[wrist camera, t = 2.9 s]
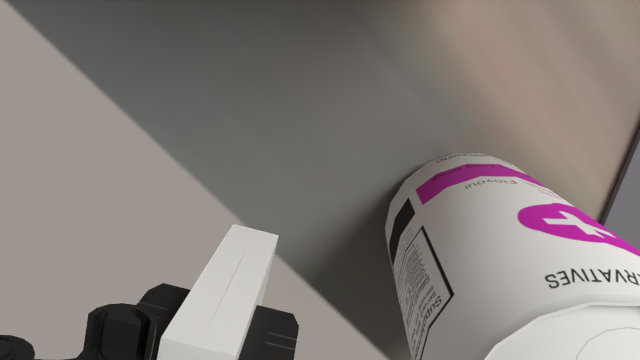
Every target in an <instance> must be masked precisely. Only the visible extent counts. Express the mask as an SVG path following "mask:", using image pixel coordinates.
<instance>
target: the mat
mask: <svg viewBox="0 0 640 360" xmlns="http://www.w3.org/2000/svg"><path fill="white" fill-rule="evenodd" d="M600 224H601V225H602V226H603V227H605V228H606V229H608V230H609V231H611V232H612V233H614V234H615V235H617V236H618V237H620V238H621V239H623V240H624V241H626V242H627V243H628V244H630V245H631V246H633V247H634V248H636V249H637V250H639V251H640V129H639V131H638V134H637V136H636V138H635V141H634V143H633V146H632V148H631V150H630V153H629V155H628V158H627V160H626V162H625V165H624V167H623V170H622V172H621V174H620V177H619V179H618V182H617V184H616V186H615V189H614V191H613V194H612V196H611V198H610V201H609V203H608V206H607V208H606V210H605V213H604V215H603V218H602V220H601V222H600Z"/></svg>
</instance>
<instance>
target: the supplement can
mask: <svg viewBox="0 0 640 360" xmlns="http://www.w3.org/2000/svg"><path fill="white" fill-rule="evenodd" d="M385 233H386V240H387V246H388V253H389V258H390V262H391V267H392V271H393V276H394V280H395V285H396V289H397V294H398V299H399V303H400V308H401V312H402V317H403V321H404V326H405V330H406V335H407V339H408V344H409V348H410V353H411V357H412V360H640V251H639V250H637V249H636V248H634V247H633V246H631V245H630V244H628V243H627V242H626V241H624V240H623V239H621V238H620V237H618V236H617V235H615V234H614V233H612V232H611V231H609V230H608V229H606V228H605V227H603V226H602V225H601V224H599V223H598V222H596V221H595V220H593V219H592V218H590V217H589V216H587V215H586V214H584V213H583V212H581V211H580V210H579V209H577V208H576V207H574V206H573V205H571V204H570V203H568V202H567V201H565V200H564V199H562V198H561V197H559V196H558V195H556V194H555V193H554V192H552V191H551V190H549V189H548V188H546V187H545V186H543V185H542V184H540V183H539V182H537V181H536V180H534V179H533V178H532V177H530V176H529V175H527V174H526V173H524V172H523V171H521V170H520V169H518V168H517V167H515V166H514V165H512V164H511V163H508V162H506V161H503V160H500V159H498V158H495V157H492V156H490V155H487V154H478V153H455V154H452V155H449V156H446V157H443V158H440V159H437V160H434V161H431V162H428V163H427V164H425V165H424V166H423V167H422V168H420V169H419V170H418V171H416V172H415V173H414V174H412V175H411V176H410V177H408V178H407V179H406V180H405V181H404V183H403V184H402V186H401V187H400V189H399V190H398V192H397V194H396V195H395V197H394V198H393V200H392V201H391V203H390V207H389V212H388V216H387V221H386V225H385Z"/></svg>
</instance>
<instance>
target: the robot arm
mask: <svg viewBox="0 0 640 360" xmlns="http://www.w3.org/2000/svg"><path fill="white" fill-rule="evenodd" d="M278 236H279V235H275V234H271V233H267V232H263V231H259V230H255V229H251V228H247V227H243V226H239V225H235V224H233V225H232V227H231V228H230V230H229V231H228V233H227V235H226V236H225V238H224V239H223V241H222V242H221V244H220V246H219V247H218V249H217V250H216V252H215V253H214V255H213V256H212V258H211V260H210V262H209V263H208V264H207V266H206V267H205V269H204V271H203V272H202V274H201V275H200V277H199V279H198V280H197V282H196V283H195V285H194V287H193V288H192V290H189V289H184V288H180V287H176V286H172V285H168V284H164V283H163V284H161V285H158V286H156V287H154V288H152V289H150V290H148V291H147V292H146V294H145V295H144V296H143V297H142V299H141V300H140V301H139V303H137V305H131V304H123V303H121V304H109V305H105V306H102V307H99V308H96V309H95V310H93V311H92V312H91V313H89V314H88V321H87V328H86V335H85V342H84V349H83V351H82V352H81V353H80V355H79V356H78V357H77V358H74V359H66V360H293V359H294V353H295V347H296V340H297V335H298V329H299V325H298V324H297V321H296V319H295V317H294V315H293V314H291V313H287V312H283V311H279V310H275V309H271V308H267V307H263V306H262V301H263V298H264V293H265V289H266V285H267V281H268V277H269V273H270V269H271V264H272V261H273V257H274V252H275V248H276V244H277V240H278ZM34 356H35V352H34V349H33V346H32V345H31V344H30V343H29V342H27V341H25V340H24V339H22V338H18V337H15V336H11V335H0V360H40V359H34Z"/></svg>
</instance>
